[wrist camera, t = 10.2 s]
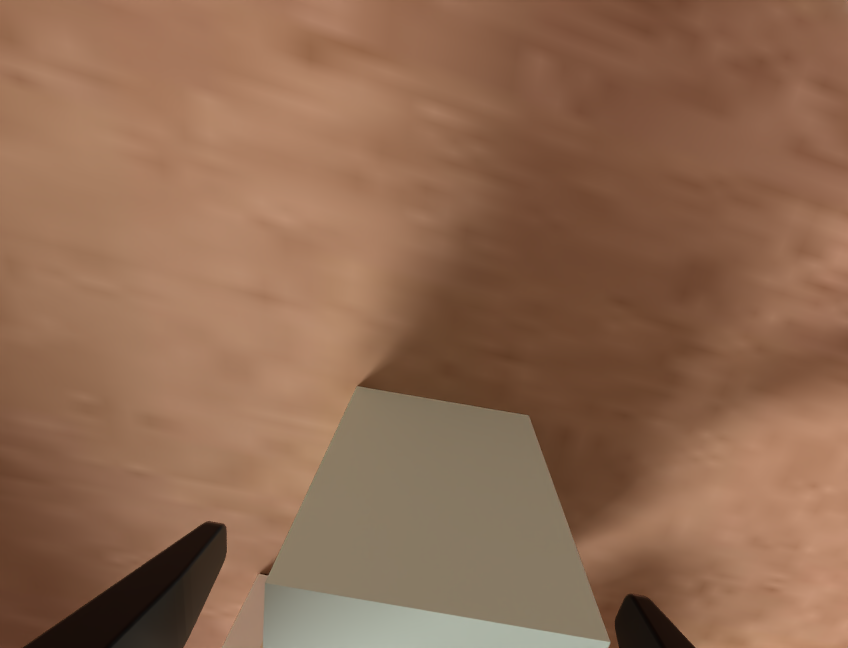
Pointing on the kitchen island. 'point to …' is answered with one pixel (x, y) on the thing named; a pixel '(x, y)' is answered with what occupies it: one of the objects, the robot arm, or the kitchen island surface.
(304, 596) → the block
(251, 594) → the channel
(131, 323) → the kitchen island surface
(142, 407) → the kitchen island surface
